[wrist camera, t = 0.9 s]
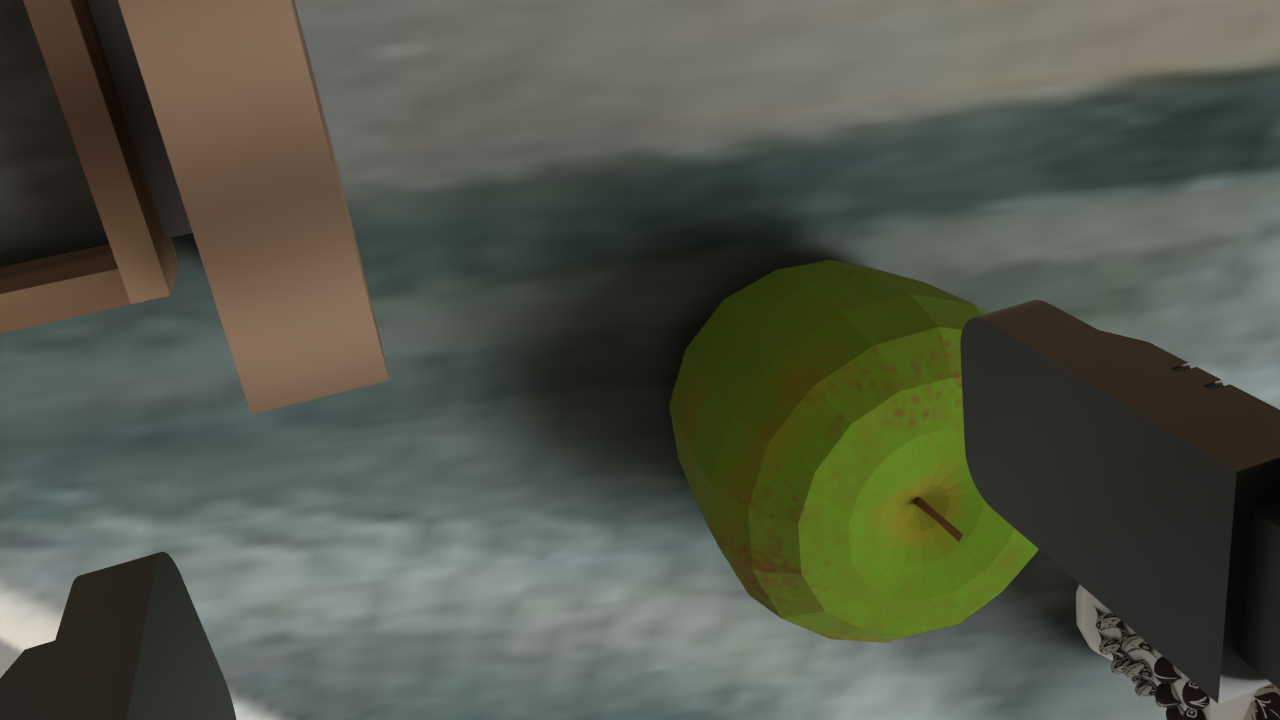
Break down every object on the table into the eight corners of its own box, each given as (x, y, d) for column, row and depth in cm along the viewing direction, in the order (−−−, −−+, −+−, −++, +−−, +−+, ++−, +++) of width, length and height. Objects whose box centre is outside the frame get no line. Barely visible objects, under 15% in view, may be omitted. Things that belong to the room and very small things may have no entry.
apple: (929, 207, 39) (1145, 303, 29) (935, 475, 43) (1125, 637, 33) (625, 274, 36) (750, 403, 27) (664, 551, 41) (783, 749, 31)
